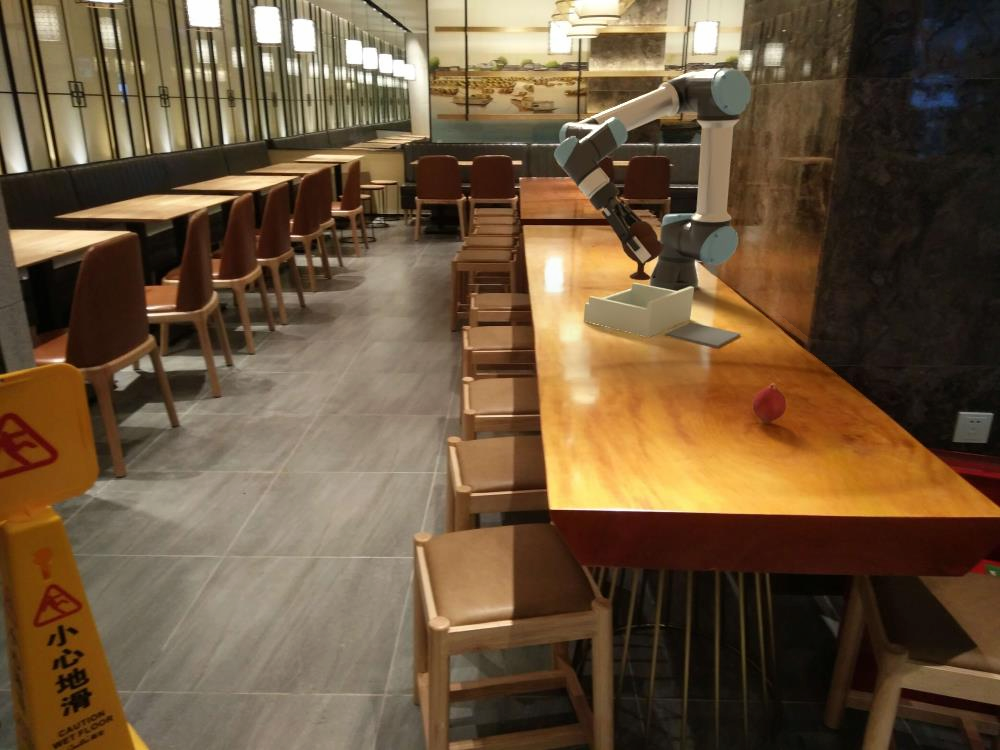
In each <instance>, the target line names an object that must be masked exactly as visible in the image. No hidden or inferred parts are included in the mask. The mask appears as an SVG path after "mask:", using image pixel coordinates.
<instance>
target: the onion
mask: <svg viewBox="0 0 1000 750" xmlns="http://www.w3.org/2000/svg"><path fill="white" fill-rule="evenodd" d="M776 385H777V384H775V383H771V384H770V385H768V386H766V387H763V388H762V389H760V390H759V391H758V392H757V393H756V394H755V396H753V398H752V408H753V409H752V410H753V411H754V414H755V415H756V416H757V417H758V418H759V419H760V420H761V421H762V423H764V424H770V423H773V422H774V421H776V420H777V419H779V418H781V417H782V416H783V415H784V414H785V411H786V409H787V403H786V397H785V396H784V395H783V392H781V391H780V390H779V389H778V388H777V386H776Z"/></svg>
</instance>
